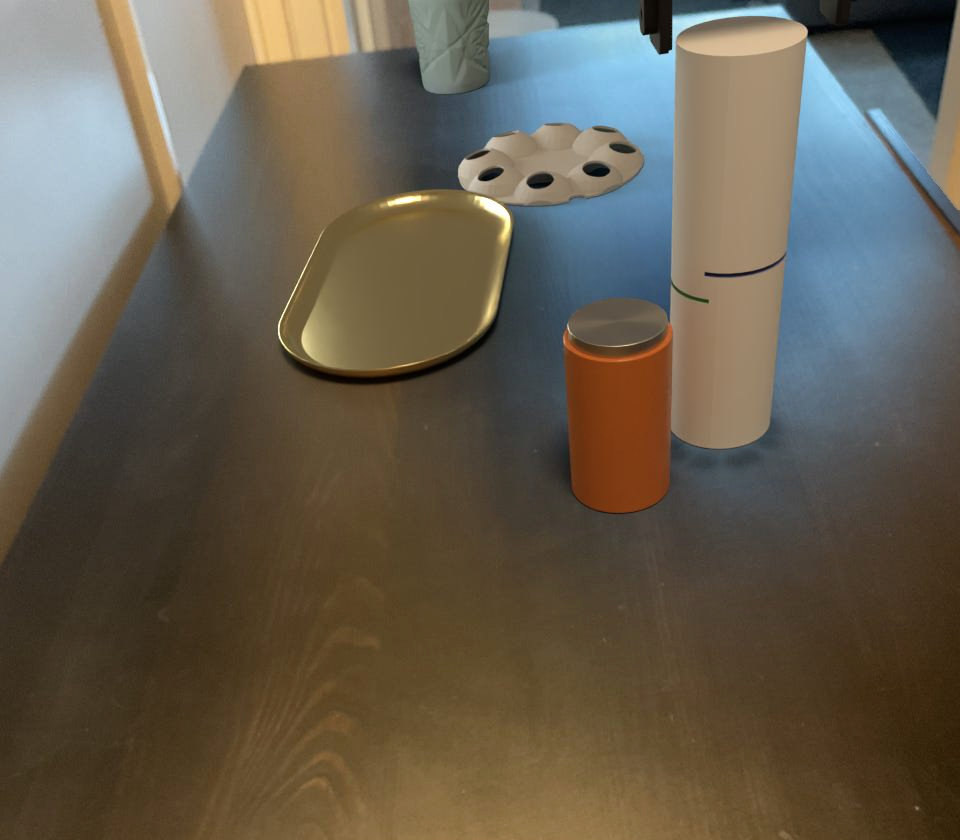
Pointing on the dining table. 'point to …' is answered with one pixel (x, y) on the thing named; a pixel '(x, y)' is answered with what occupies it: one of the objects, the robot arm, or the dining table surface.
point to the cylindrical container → (731, 221)
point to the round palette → (551, 164)
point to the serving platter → (400, 284)
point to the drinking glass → (452, 44)
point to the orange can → (619, 403)
